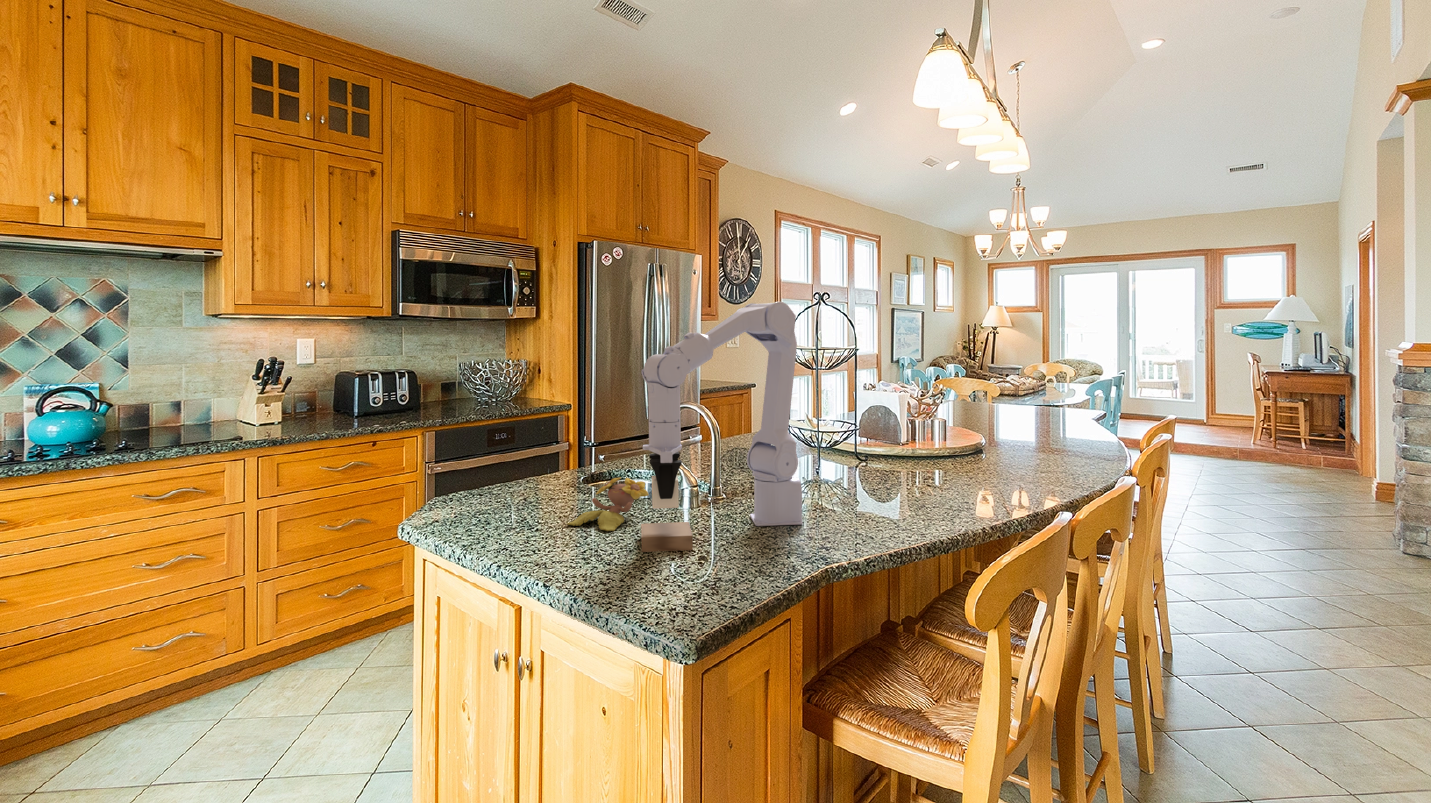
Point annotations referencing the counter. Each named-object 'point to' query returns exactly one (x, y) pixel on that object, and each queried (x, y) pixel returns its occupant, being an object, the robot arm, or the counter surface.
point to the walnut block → (666, 536)
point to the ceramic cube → (664, 502)
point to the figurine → (620, 498)
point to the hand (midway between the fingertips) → (665, 495)
